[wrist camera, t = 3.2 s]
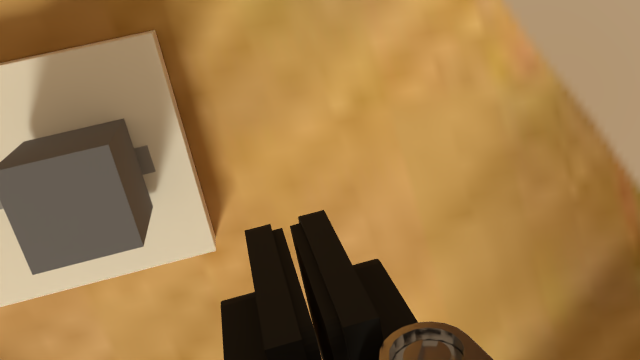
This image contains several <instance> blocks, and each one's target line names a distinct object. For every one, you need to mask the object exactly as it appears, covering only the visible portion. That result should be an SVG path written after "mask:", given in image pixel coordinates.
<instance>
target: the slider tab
mask: <svg viewBox="0 0 640 360" xmlns="http://www.w3.org/2000/svg"><path fill="white" fill-rule="evenodd" d="M0 202H1V204H2V206H3V208H4V211H5V213H6V215H7V218H8V220H9V222H10V224H11V227H12V229H13V231H14V234H15V236H16V238H17V240H18V243H19V245H20V247H21V250H22V252H23V254H24V257H25V259H26V261H27V263H28V266H29V268H30V270H31V273H32V275H35V274H39V273H43V272H47V271H50V270H54V269H58V268H62V267H66V266H70V265H74V264H78V263H82V262H85V261H89V260H93V259H97V258H101V257H105V256H109V255H113V254H117V253H121V252H124V251H128V250H132V249H136V248H140V247H144V243H145V239H146V234H147V230H148V226H149V222H150V217H151V213H152V209H153V205H152V202H151V199H150V196H149V193H148V190H147V187H146V184H145V181H144V178H143V174H142V171H141V168H140V165H139V162H138V159H137V156H136V153H135V150H134V147H133V144H132V141H131V138H130V135H129V132H128V129H127V126H126V123H125V120H124V118H123V119H119V120H115V121H110V122H106V123H102V124H97V125H93V126H89V127H84V128H80V129H76V130H71V131H67V132H63V133H58V134H54V135H50V136H45V137H41V138H37V139H32V140H28V141H24V142H23V143H21V144H20V145H19V146H18V147H17V148H16V149H15V150H14V151H12V152H11V153H10V154H9V155H8V156H7V157H6V158H4V159H3V160H2V161H1V162H0Z"/></svg>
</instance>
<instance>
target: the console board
mask: <svg viewBox="0 0 640 360" xmlns="http://www.w3.org/2000/svg"><path fill="white" fill-rule="evenodd" d="M123 118H124V120H125V123H126V126H127V129H128V132H129V135H130V138H131V141H132V144H133V147H134V150H135V153H136V156H137V159H138V162H139V165H140V168H141V171H142V174H143V178H144V181H145V184H146V187H147V190H148V193H149V196H150V199H151V202H152V205H153V209H152V213H151V217H150V222H149V226H148V230H147V234H146V239H145V243H144V247H140V248H136V249H132V250H128V251H124V252H121V253H117V254H113V255H109V256H105V257H101V258H97V259H93V260H89V261H85V262H82V263H78V264H74V265H70V266H66V267H62V268H58V269H54V270H50V271H47V272H43V273H39V274H35V275H32V273H31V270H30V268H29V266H28V263H27V261H26V259H25V257H24V254H23V252H22V250H21V247H20V245H19V243H18V240H17V238H16V236H15V234H14V231H13V229H12V227H11V224H10V222H9V220H8V218H7V215H6V213H5V211H4V208H3V206H2V204H1V202H0V307H3V306H6V305H10V304H14V303H18V302H22V301H25V300H29V299H33V298H37V297H41V296H45V295H48V294H52V293H56V292H60V291H64V290H68V289H71V288H75V287H79V286H83V285H87V284H91V283H94V282H98V281H102V280H106V279H110V278H114V277H117V276H121V275H125V274H129V273H133V272H137V271H140V270H144V269H148V268H152V267H156V266H160V265H163V264H167V263H171V262H175V261H179V260H183V259H186V258H190V257H194V256H198V255H202V254H205V253H209V252H213V251H216V237H215V234H214V230H213V227H212V223H211V220H210V216H209V213H208V210H207V206H206V203H205V199H204V196H203V192H202V189H201V186H200V182H199V179H198V175H197V172H196V168H195V165H194V162H193V158H192V155H191V151H190V148H189V144H188V141H187V138H186V134H185V131H184V127H183V124H182V120H181V117H180V114H179V110H178V107H177V103H176V100H175V96H174V93H173V90H172V86H171V83H170V79H169V76H168V72H167V69H166V66H165V62H164V59H163V55H162V52H161V48H160V45H159V42H158V38H157V35H156V31H155V30H152V31H147V32H143V33H138V34H134V35H129V36H124V37H120V38H115V39H110V40H106V41H101V42H96V43H92V44H87V45H82V46H78V47H73V48H68V49H64V50H59V51H54V52H50V53H45V54H41V55H36V56H31V57H27V58H22V59H17V60H13V61H8V62H3V63H0V162H1V161H2V160H3V159H4V158H6V157H7V156H8V155H9V154H10V153H11V152H12V151H14V150H15V149H16V148H17V147H18V146H19V145H20V144H21V143H23V142H24V141H28V140H32V139H37V138H41V137H45V136H50V135H54V134H58V133H63V132H67V131H71V130H76V129H80V128H84V127H89V126H93V125H97V124H102V123H106V122H110V121H115V120H119V119H123Z"/></svg>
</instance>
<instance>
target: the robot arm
mask: <svg viewBox="0 0 640 360" xmlns="http://www.w3.org/2000/svg"><path fill="white" fill-rule="evenodd" d="M298 219H299V224H296V225H292V226H290V228H291V233H292V237H293V242H294V246H295V250H296V254H297V259H298V263H299V267H300V271H301V276H302V280H303V284H304V288H305V293H306V297H307V301H308V305H309V310H310V314H311V318H312V321H311V318H310V315H309V311H308V308H307V305H306V302H305V299H304V296H303V293H302V289H301V286H300V283H299V280H298V277H297V274H296V270H295V267H294V264H293V261H292V258H291V255H290V251H289V248H288V245H287V242H286V239H285V236H284V233H283V229H282V228H280V229H277V230H273V231H272V229H271V225H270V224H268V225H265V226H261V227H257V228H253V229H249V230H245V236H246V242H247V248H248V254H249V260H250V266H251V271H252V277H253V283H254V289H255V292H253V293H249V294H246V295H242V296H238V297H235V298H231V299H227V300H224V301H221V317H222V334H223V350H224V360H322V359H323V360H493V359H492V358H491V357H490V356H489V355H488V354H487V353H486V352H485V351H484V350H483V349H482V348H481V347H480V346H479V345H478V344H477V343H476V342H474V341H473V340H472V339H471V338H470V337H469V336H468V335H467V334H466V333H464V332H463V331H461V330H460V329H458V328H457V327H454V326H451V325H448V324H445V323H438V322H420V323H418V322H417V320H416V319H415V317H414V315H413V314H412V312H411V310H410V309H409V307H408V306H407V304H406V302H405V301H404V299H403V298H402V296H401V294H400V293H399V291H398V289H397V288H396V286H395V285H394V283H393V281H392V280H391V278H390V277H389V275H388V273H387V272H386V270H385V268H384V267H383V265H382V264H381V262H380V261H379V260H378V259H374V260H370V261H366V262H363V263H359V264H356V265H352V264H351V262H350V260H349V258H348V256H347V254H346V252H345V250H344V248H343V246H342V244H341V242H340V240H339V238H338V237H337V235H336V233H335V231H334V229H333V227H332V225H331V223H330V221H329V219H328V217H327V215H326V213H325V211H324V210H322V211H318V212H315V213H311V214H307V215H303V216H299V217H298ZM312 322H313V324H312ZM320 353H321V354H320ZM321 356H322V358H321Z"/></svg>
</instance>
